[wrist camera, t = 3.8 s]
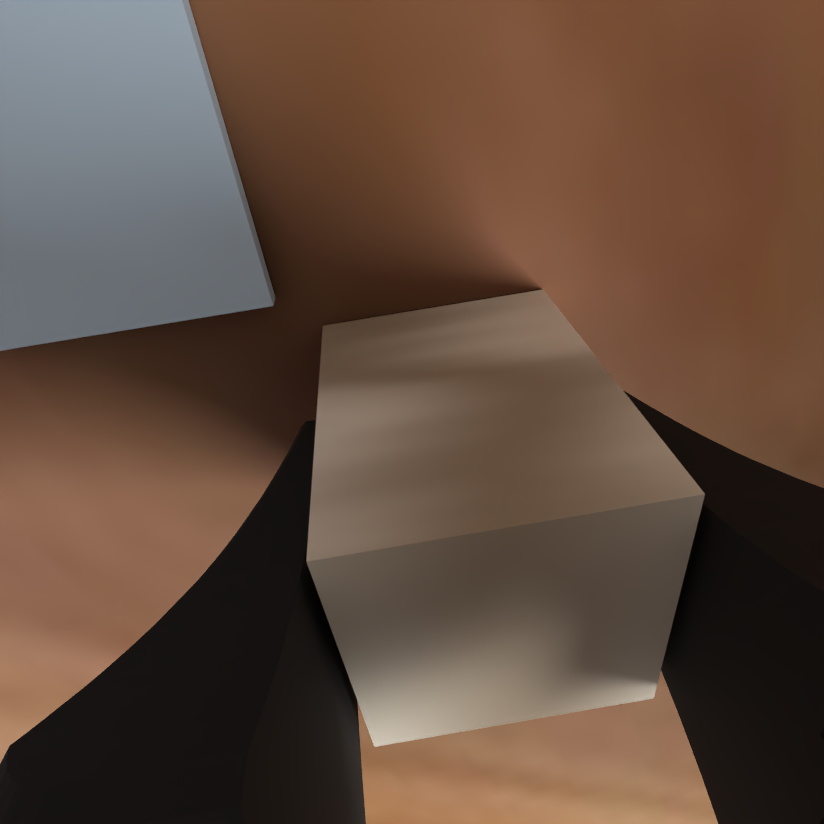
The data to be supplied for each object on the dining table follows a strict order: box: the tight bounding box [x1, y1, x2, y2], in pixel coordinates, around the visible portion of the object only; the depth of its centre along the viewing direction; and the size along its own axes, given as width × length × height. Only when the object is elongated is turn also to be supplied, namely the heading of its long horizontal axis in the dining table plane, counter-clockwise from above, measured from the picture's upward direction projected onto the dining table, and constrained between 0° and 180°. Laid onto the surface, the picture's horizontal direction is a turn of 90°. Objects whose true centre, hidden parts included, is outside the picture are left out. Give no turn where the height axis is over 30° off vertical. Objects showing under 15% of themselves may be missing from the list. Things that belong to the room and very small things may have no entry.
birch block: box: [306, 290, 705, 747], centre depth 10 cm, size 4×4×6 cm
